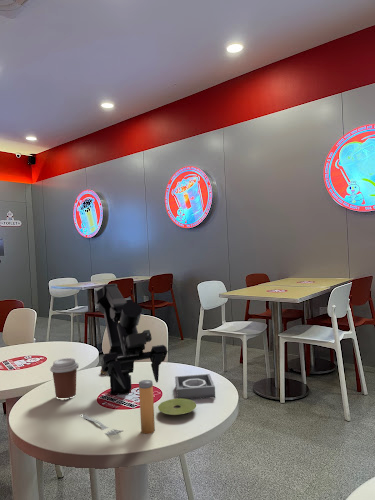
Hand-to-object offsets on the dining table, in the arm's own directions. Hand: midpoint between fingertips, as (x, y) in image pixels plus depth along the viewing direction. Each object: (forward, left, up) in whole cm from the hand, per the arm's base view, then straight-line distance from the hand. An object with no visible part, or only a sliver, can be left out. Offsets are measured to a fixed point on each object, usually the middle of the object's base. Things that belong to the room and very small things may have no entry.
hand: (141, 384), depth 105 cm
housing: (+16, +20, -11) cm, 28 cm away
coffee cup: (-27, +25, -11) cm, 38 cm away
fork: (-14, +3, -12) cm, 18 cm away
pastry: (-13, +48, -11) cm, 51 cm away
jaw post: (+1, -4, -11) cm, 12 cm away
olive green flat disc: (+10, +6, -11) cm, 16 cm away
